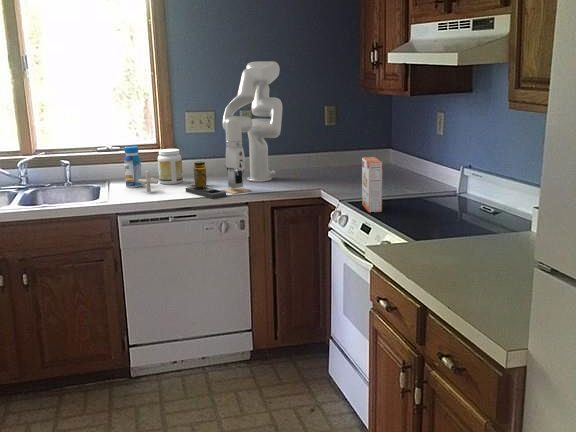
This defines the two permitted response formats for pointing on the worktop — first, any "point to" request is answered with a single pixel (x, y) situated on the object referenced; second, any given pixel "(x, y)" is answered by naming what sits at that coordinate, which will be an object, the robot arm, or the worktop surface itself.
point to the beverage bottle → (132, 166)
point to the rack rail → (206, 192)
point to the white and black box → (233, 179)
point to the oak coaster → (236, 190)
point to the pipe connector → (148, 181)
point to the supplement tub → (170, 166)
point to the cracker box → (372, 184)
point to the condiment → (199, 174)
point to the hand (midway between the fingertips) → (235, 182)
